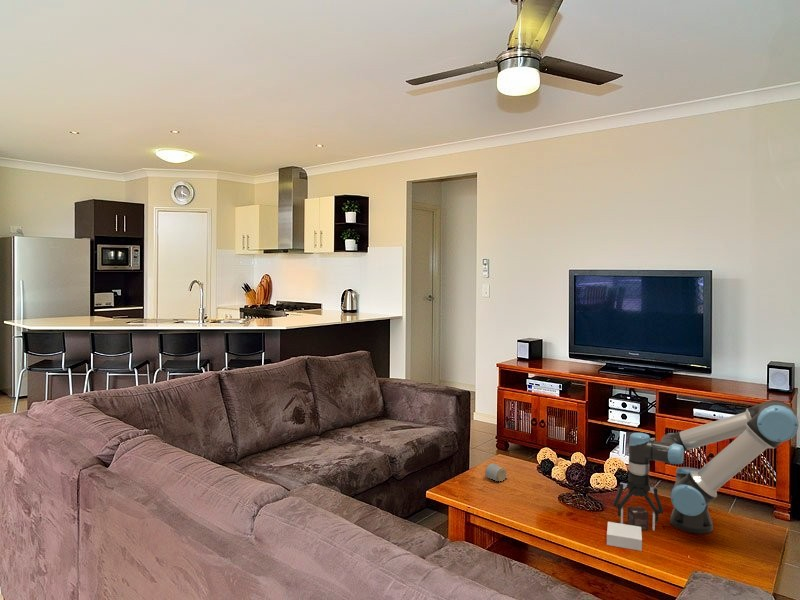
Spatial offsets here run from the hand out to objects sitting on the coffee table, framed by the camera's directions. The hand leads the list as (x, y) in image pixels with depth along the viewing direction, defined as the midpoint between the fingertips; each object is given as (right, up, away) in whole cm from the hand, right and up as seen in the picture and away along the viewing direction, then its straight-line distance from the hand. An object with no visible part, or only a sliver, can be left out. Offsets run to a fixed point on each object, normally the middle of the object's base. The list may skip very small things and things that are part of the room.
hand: (637, 526), depth 223 cm
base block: (-10, 0, -12) cm, 16 cm away
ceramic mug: (-47, +1, +53) cm, 70 cm away
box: (0, 0, 0) cm, 0 cm away
